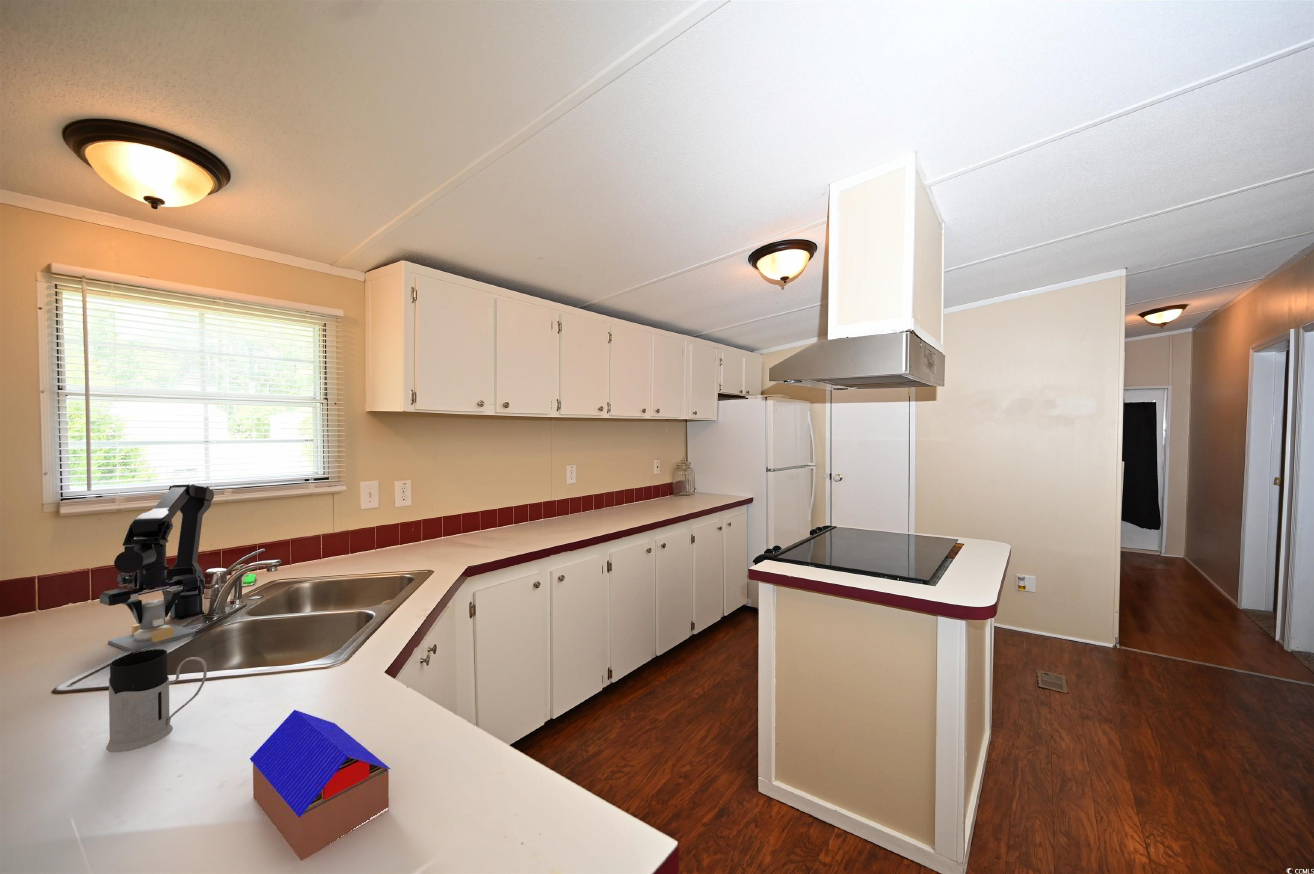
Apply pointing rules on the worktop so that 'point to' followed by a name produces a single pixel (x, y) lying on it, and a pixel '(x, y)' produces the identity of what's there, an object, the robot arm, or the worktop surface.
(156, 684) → the glass holder
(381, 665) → the worktop surface
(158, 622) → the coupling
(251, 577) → the mechanical part
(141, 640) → the board
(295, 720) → the house
